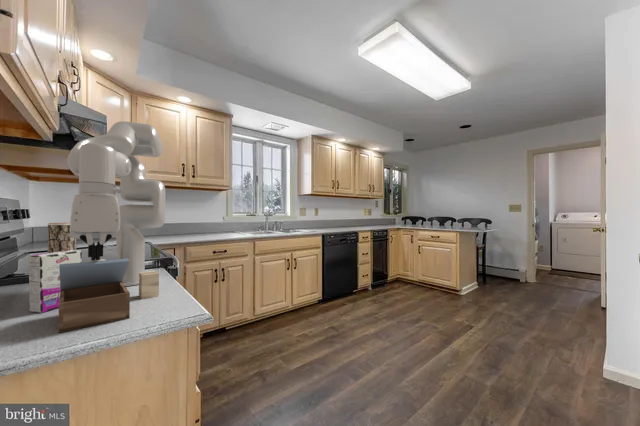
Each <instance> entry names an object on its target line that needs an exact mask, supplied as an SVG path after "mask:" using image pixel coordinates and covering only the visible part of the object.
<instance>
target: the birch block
mask: <svg viewBox="0 0 640 426" xmlns="http://www.w3.org/2000/svg"><path fill="white" fill-rule="evenodd" d="M159 292H160V272H159V271H157V270H150V271H145V272H140V273H139V284H138V297H139V298H140V299H141V300H146V299H150V298H151V299H152V298H156V297H157V298H158V297H159V296H160V293H159Z"/></svg>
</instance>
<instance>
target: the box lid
mask: <svg viewBox="0 0 640 426" xmlns="http://www.w3.org/2000/svg"><path fill="white" fill-rule="evenodd" d="M128 261H129V259H128V258H127V259H116V258H115V259H107V260H106V258H100V260H96V259H95V260H91V259H87V260H85V261H84V262H83V261H82V263H70V264H60V265H59V269H60V289H61V290H64V289H72V288H79V287H87V286H94V285H102V284H109V283H116V282H122V281H123V277H124V274H125V271H126V268H127V265H128Z"/></svg>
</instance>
